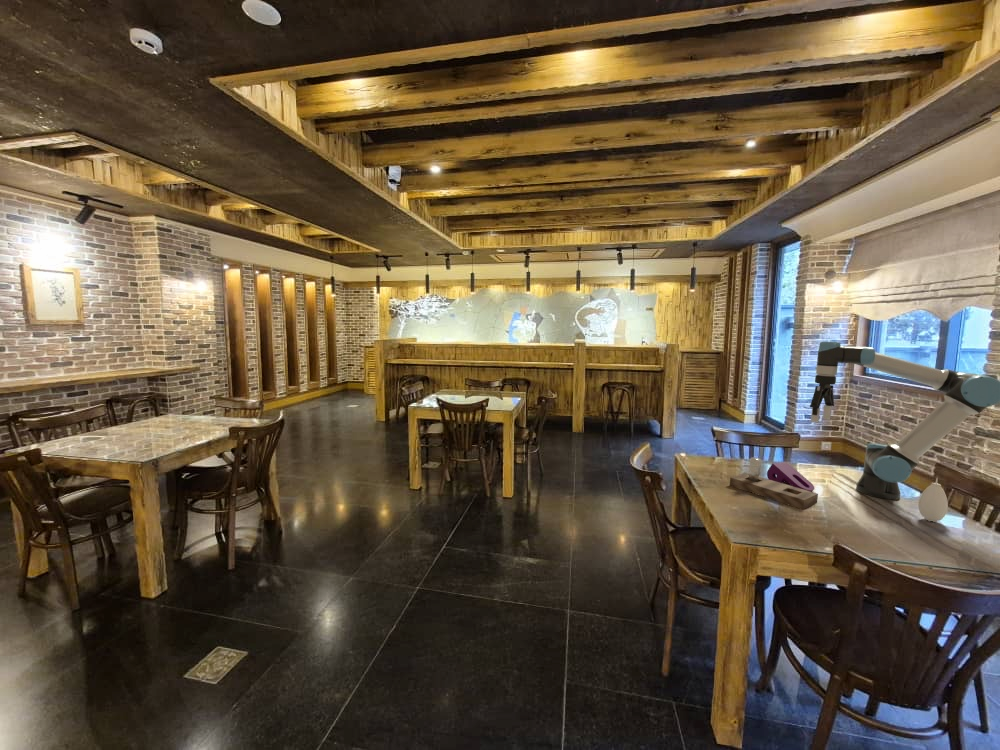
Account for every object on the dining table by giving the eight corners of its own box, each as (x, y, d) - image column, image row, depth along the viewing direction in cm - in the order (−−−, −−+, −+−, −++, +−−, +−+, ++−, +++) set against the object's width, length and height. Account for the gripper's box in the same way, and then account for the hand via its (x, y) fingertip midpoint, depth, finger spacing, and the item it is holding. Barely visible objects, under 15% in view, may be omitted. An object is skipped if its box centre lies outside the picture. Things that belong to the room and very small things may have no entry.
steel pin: (759, 488, 192) (762, 459, 191) (755, 489, 190) (758, 460, 189) (750, 485, 196) (753, 456, 194) (746, 487, 193) (748, 458, 192)
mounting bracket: (808, 502, 194) (777, 474, 208) (819, 489, 189) (786, 461, 204) (794, 504, 191) (764, 475, 205) (804, 491, 186) (772, 463, 201)
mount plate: (817, 502, 178) (818, 493, 177) (803, 509, 170) (804, 500, 170) (744, 480, 202) (745, 472, 202) (729, 485, 195) (730, 477, 194)
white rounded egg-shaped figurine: (912, 517, 165) (918, 474, 164) (923, 515, 168) (929, 472, 166) (938, 526, 158) (945, 481, 156) (949, 524, 161) (956, 479, 159)
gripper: (826, 373, 199) (821, 416, 201) (804, 375, 185) (799, 421, 187) (846, 375, 192) (840, 419, 195) (825, 376, 179) (819, 424, 181)
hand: (820, 420), depth 191 cm, fingers open, 13 cm apart
